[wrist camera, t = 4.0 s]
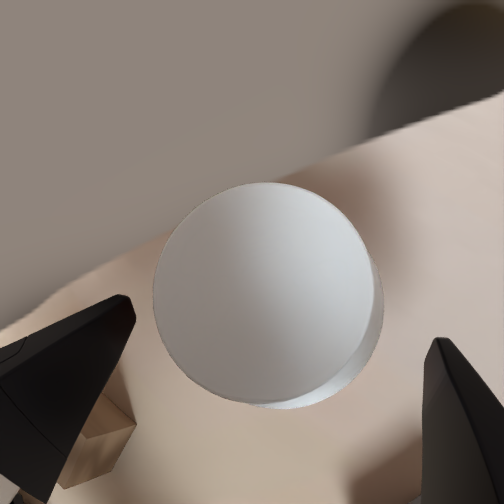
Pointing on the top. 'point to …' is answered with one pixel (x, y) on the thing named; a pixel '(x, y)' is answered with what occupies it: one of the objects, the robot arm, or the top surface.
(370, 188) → the top surface
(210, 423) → the top surface
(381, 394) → the top surface
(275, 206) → the pill bottle
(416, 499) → the slate-grey cube
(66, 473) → the walnut cube
